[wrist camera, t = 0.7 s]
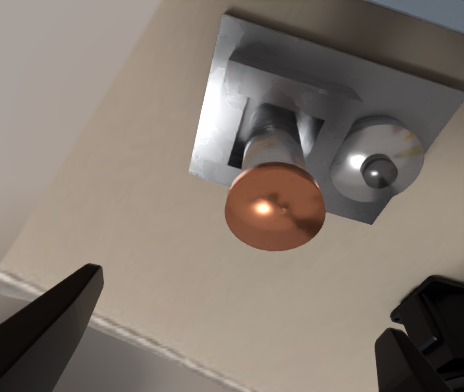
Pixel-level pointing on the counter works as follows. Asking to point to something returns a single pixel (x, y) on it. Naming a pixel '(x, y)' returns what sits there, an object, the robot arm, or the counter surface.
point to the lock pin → (274, 186)
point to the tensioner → (321, 115)
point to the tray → (429, 11)
